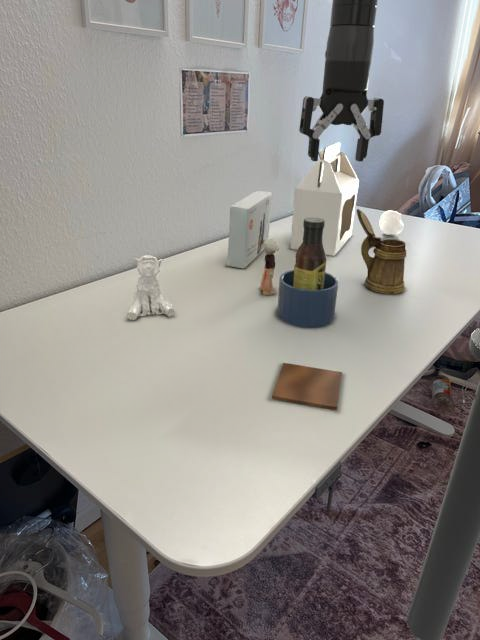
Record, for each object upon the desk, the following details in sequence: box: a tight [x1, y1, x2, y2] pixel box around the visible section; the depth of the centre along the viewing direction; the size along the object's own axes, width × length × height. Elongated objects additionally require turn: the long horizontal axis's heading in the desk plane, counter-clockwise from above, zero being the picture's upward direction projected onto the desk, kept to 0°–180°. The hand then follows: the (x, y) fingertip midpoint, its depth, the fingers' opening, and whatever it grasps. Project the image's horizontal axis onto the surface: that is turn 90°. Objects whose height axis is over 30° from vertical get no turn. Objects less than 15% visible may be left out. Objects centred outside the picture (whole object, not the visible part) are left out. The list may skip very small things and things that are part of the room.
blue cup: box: [277, 269, 339, 329], centre depth 99 cm, size 12×12×8 cm
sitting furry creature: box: [126, 254, 175, 321], centre depth 98 cm, size 10×9×12 cm
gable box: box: [289, 141, 360, 257], centre depth 139 cm, size 22×13×28 cm, turn 156°
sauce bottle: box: [293, 217, 327, 290], centre depth 96 cm, size 6×6×20 cm
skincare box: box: [226, 190, 273, 269], centre depth 129 cm, size 21×6×16 cm, turn 160°
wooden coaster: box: [271, 362, 343, 411], centre depth 77 cm, size 10×10×1 cm
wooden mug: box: [356, 208, 407, 295], centre depth 112 cm, size 9×14×18 cm, turn 69°
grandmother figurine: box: [259, 238, 280, 296], centre depth 108 cm, size 8×4×13 cm, turn 12°
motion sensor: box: [378, 209, 404, 236], centre depth 152 cm, size 8×8×8 cm
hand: (336, 160), depth 87 cm, fingers open, 8 cm apart
